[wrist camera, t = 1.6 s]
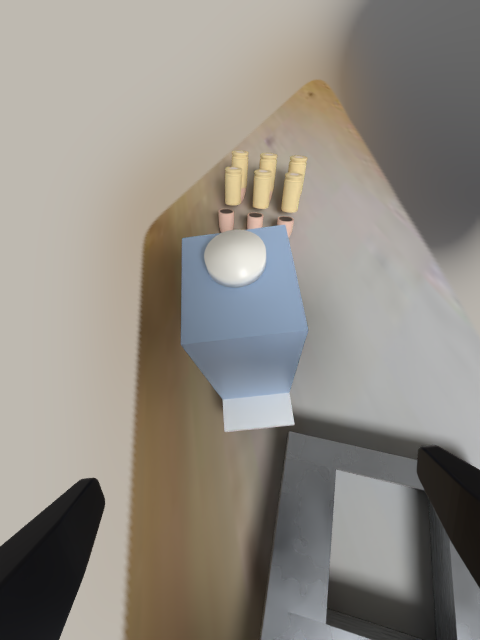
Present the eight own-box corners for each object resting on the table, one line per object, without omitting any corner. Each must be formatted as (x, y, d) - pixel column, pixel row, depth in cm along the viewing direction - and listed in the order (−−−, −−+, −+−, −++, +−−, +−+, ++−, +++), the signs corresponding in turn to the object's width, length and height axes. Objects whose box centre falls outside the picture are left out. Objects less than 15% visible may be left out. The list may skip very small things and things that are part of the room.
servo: (291, 427, 20) (324, 382, 8) (229, 434, 20) (174, 398, 8) (271, 303, 25) (274, 161, 13) (221, 309, 25) (179, 175, 13)
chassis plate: (524, 847, 12) (569, 916, 10) (246, 730, 14) (243, 770, 12) (478, 476, 18) (501, 478, 16) (287, 433, 20) (289, 431, 18)
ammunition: (233, 143, 28) (209, 199, 24) (309, 149, 26) (294, 210, 23) (237, 185, 32) (217, 238, 29) (303, 192, 31) (289, 249, 27)
